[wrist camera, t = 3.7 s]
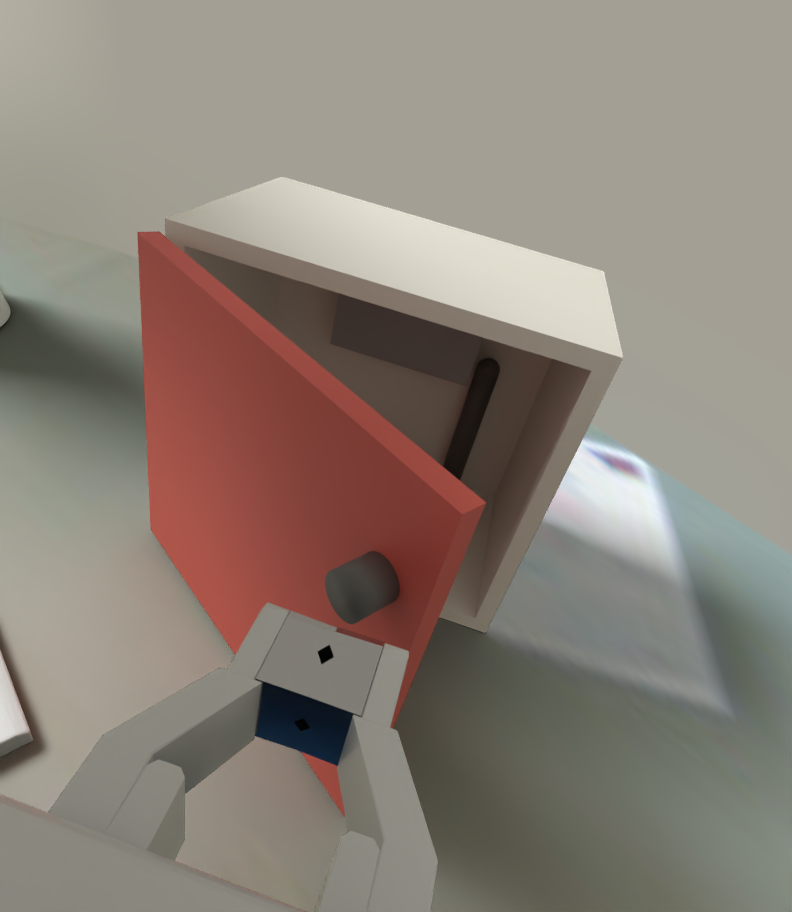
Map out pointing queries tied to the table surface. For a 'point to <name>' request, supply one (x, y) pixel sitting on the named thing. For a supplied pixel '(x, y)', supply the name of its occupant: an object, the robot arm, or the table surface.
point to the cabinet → (429, 344)
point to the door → (286, 477)
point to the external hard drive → (11, 715)
